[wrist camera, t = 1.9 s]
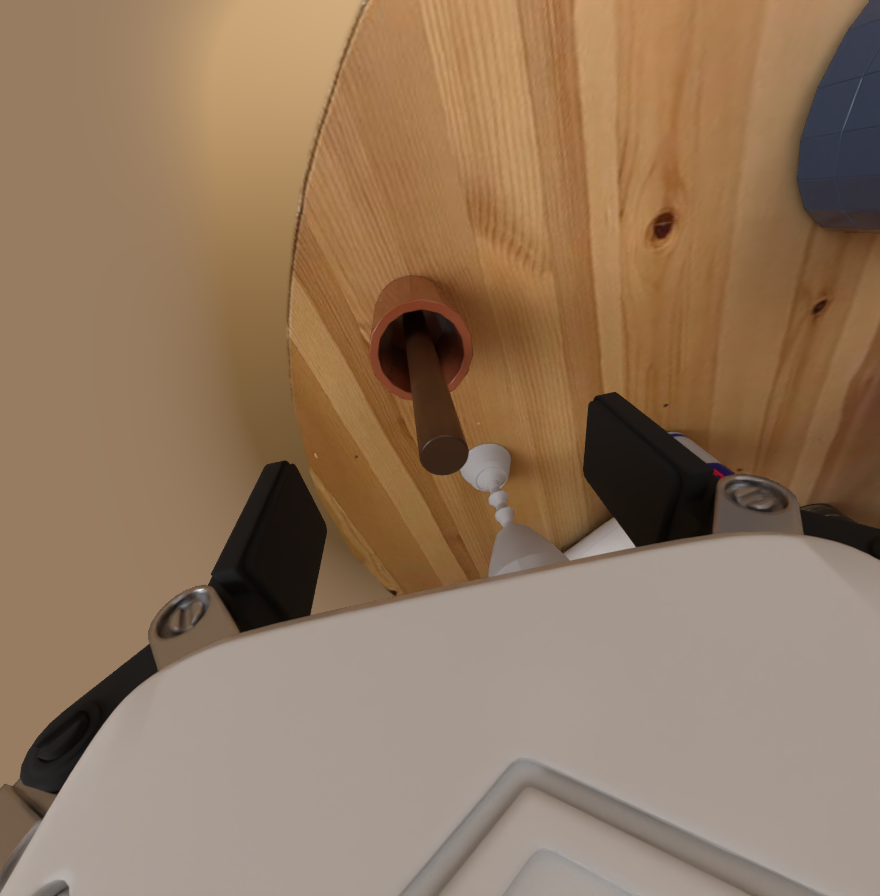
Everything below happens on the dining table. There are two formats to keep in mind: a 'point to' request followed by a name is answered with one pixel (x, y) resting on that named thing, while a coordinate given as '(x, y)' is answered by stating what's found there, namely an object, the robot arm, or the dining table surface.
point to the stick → (432, 402)
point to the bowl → (846, 134)
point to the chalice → (507, 515)
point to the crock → (442, 325)
